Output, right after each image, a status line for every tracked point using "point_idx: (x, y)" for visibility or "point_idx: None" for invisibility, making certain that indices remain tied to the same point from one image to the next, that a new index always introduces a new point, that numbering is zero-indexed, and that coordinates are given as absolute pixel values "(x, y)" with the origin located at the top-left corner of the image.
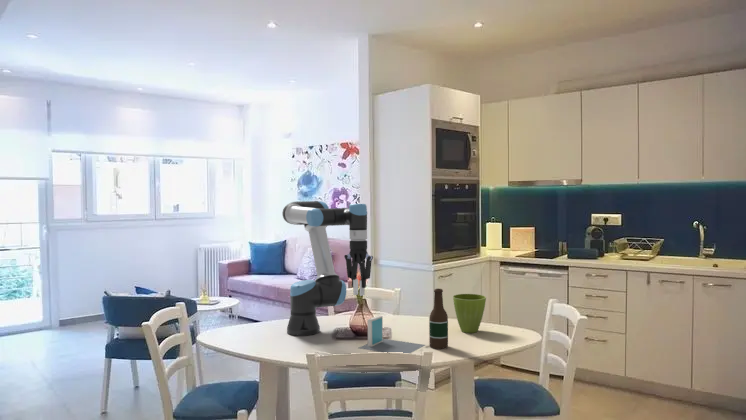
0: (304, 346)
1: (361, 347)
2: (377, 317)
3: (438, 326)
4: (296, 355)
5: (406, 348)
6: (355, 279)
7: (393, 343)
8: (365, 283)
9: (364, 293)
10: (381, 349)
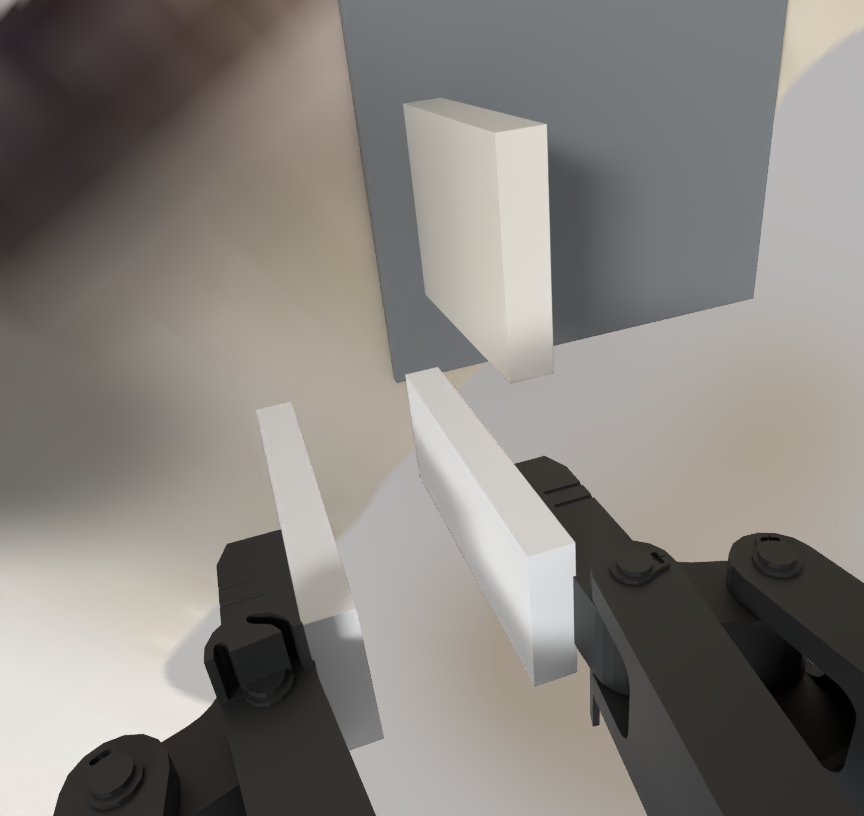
0: (8, 595)
1: (411, 354)
2: (541, 234)
3: None
4: (180, 712)
5: (700, 145)
6: (333, 683)
7: (550, 85)
8: (599, 522)
9: (447, 382)
10: (561, 292)
